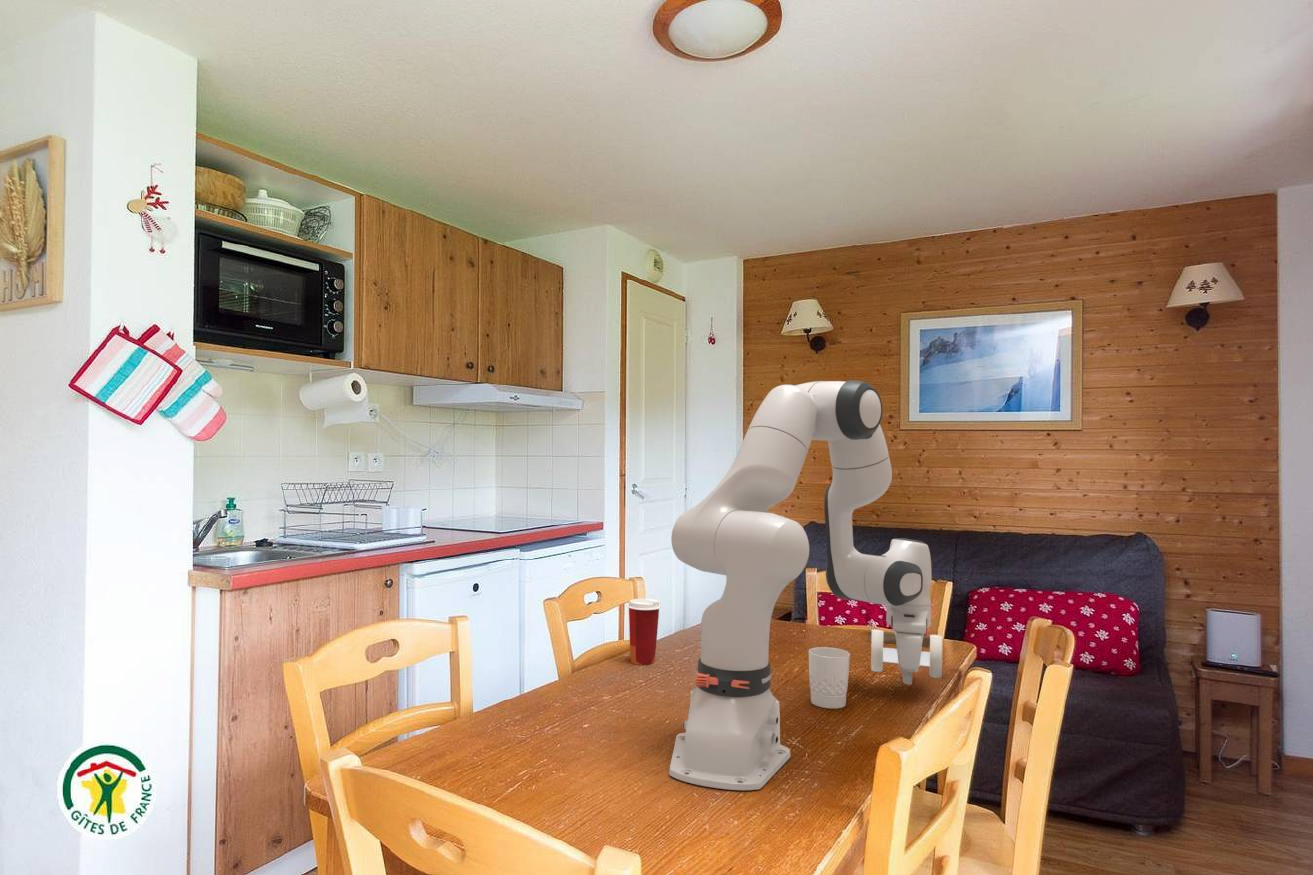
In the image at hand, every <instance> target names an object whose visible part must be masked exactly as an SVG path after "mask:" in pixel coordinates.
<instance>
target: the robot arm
mask: <svg viewBox="0 0 1313 875" xmlns="http://www.w3.org/2000/svg"><path fill="white" fill-rule="evenodd" d="M882 418H883V402H882V399H881V396H880V394H879V392H878V391H877V390H876V389H875V388H874V386H873V385H871V383H869V382H866V381H863V380H862V381H861V380H854V379H850V380H847V381H842V380H835V381H834V380H831V381H830V380H826V381H825V380H818V381H817V380H816V381H809V382H804V383H800V384H799V383H798V384H796V383H793V384H781V385H778V386H776V387H773V388H772V389H771V390H770V391H769V392H768V393H767V395H766V397H764V399H763V400H762V402H761V404H760V405H759V407H758V409H757V410H756V412H755V414H754V416H753V418H752V420H751V421H750V424H749V425H748V426H749V427H748V428H747V431H746V434H745V436H744V438H743V440H742V443H741V445H740V447H739V450H738V451H737V453H736V456H735V458H734V461H733V463H732V465H731V466H730V468H729V470H728V471H727V473H726V474H725V476H724V477H723V478H722V479H721V481H720V482H719V483H718V485H716V486H715V488H713V490H712V491H711V492H710V493H709V494H708V495H707V496H706V497H705V498H704V499H702V501H701V502H699V503H698V504H696V505H695V506H693V507H692V508H690V509H687V510H686V511H684V512H683V513H681V514H680V515H679V516H678V518H677V519H676V520H675V523H673V524H674V525H673V527H672V530H671V546H672V550H673V553H674V555H675V556H676V558H677V559H678V560H679V561H680V562H682V563H684V564H685V565H688V566H689V567H691V568H693V569H696V570H698V571H701V572H704V573H705V572H706V573H709V574H711V573H712V574H717V575H722V576H725V578H726V579H725V582H726V583H725V587H724V590H723V593H722V595H721V597H720V598H719V599H717V600H715V601H713V602H712V603H711V604H710V605H708V606H707V607H706V608H705V609H704V611H703V613H702V616H701V622H700V624H701V627H700V634H701V635H700V658H699V659H698V660H697V667H696V672H695V674H696V680H695V685H696V686H695V687H694V688H693V689H692V690H690V703H689V710H688V714H687V715H688V716H687V719H685V720H684V721H683V725H682V726H683V728H684V730H685V732H680V733H678V734H677V735H676V738H675V742H674V746H673V751H672V756H671V761H670V765H669V771H668V774H669V776H670V777H671V778H675V779H677V780H679V781H682V782H684V783H689V784H692V785H697V786H702V787H707V788H714V789H722V790H731V791H754V790H760V789H762V788H763V787H764V786H765V785H766V783H768V781H770V779H771V778H772V777H773V776H774V775H776V773H777V772H778V771H779V770H780V769H781V768H782V767H783V766H784V765H785V763H787V761H789V759H790V758H791V749H790V748H789V747H787V746H785V745H782V744H781V727H780V725H781V724H780V723H781V718H780V711H781V710H780V702H779V700H778V699H777V698H776V697H775V696H774V695H773V693H772V692H771V689H770V688H771V683H772V681H771V680H772V669H771V667H772V666H771V663H770V662H769V647H770V631H771V630H770V629H771V620H772V616H773V613H774V609H775V605H776V603H777V601H778V600H779V597H780V595H781V593H782V592H783V591H784V589H785V588H786V586H788V585H789V584H790V583H792V582H793V581H794V580H795V579H797V578H798V577H799V575H801V574H802V572H803V571H804V569H805V568H806V565H807V564H808V561H809V556H810V543H809V539H808V534H807V533H806V531H805V529H804V527H803V526H802V525H801V524H800V522H797V521H795V520H794V519H790V518H788V517H786V516H783V515H778V514H776V513H773V512H767V511H768V510H770V508H772V507H773V506H775V505H777V504H778V503H781V502H783V501H784V500H786V499H787V498H788V497H790V496H791V494H792V493H793V491H794V490H795V488H796V485H797V481H798V478H799V477H800V474H801V471H802V469H803V466H804V464H805V460H806V458H807V456H808V452H809V449H810V447H811V443H812V440H813V441H820V442H821V441H822V442H827V443H828V450H829V457H830V464H831V470H832V481H831V483H830V484H829V485H828V486H827V488H826V490H825V494H824V500H823V501H824V502H823V504H824V508H823V509H824V523H825V524H824V525H825V526H824V527H825V539H826V540H825V541H826V567H825V580H826V583H827V586H828V588H829V590H830V591H831V593H832V594H833V595H834V596H835V597H836V598H838V599H840V600H851V601H860V602H861V601H862V602H866V603H871V604H874V605H877V604H879V605H884V606H886V620H885V621H886V622H885V623H887V624H888V625H890V627H891V628H892V631H893V633H895V636H896V644H895V645H896V649H897V654H898V668H899V671H902V683H903V684H904V685H912V684H913V675H914V674H913V673H918V672H919V670H920V666H919V665H920V658H921V651H922V650H923V649H922V648H923V647H922V642H923V635H926V634H927V630H928V628H931V626H932V621H931V620H932V600H931V596H930V588H931V586H932V558H931V552H930V548H929V546H928V544H927V543H925V542H924V541H921V540H917V539H911V538H903V537H900V538H899V537H898V538H897V537H896V538H893V539H891V541H890V546H889V549H888V551H886V552H885V553H884V554H881V555H873V554H868V553H867V554H865V553H861V552H859V551H858V550H857V549H856V548H855V546H854V535H853V534H854V533H853V529H854V528H853V513H854V510H856V509H859V508H862V507H865V506H867V505H869V504H871V503H873V502H875V501H877V500H878V499H880V497H882V496H884V494H886V492H887V490H888V489H889V487H890V486H891V483H892V479H893V470H892V464H891V460H890V455H889V450H888V445H887V441H886V437H885V434H884V432H883V428H882V426H881V422H882Z"/></svg>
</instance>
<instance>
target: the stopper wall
mask: <svg viewBox="0 0 1313 875" xmlns="http://www.w3.org/2000/svg"><path fill="white" fill-rule="evenodd" d="M871 638H872V630H870V629H869V630H868V632H867V642H871ZM883 644H892V645H897V644H896V636H895V633H894V632H889V631H884V632H883ZM922 646H930V635H926V634H924V635H923V642H922Z"/></svg>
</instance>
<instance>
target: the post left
mask: <svg viewBox="0 0 1313 875" xmlns="http://www.w3.org/2000/svg"><path fill="white" fill-rule="evenodd" d="M871 631H872V638H871V644H870V647H871V648H870V649H871V650H870V651H871V653H870V671H871V672H875V673H882V672H883V671H884V662H883V648H884V643H883V632H885V631H884V630H882V629H875V628H874V629H871Z"/></svg>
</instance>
